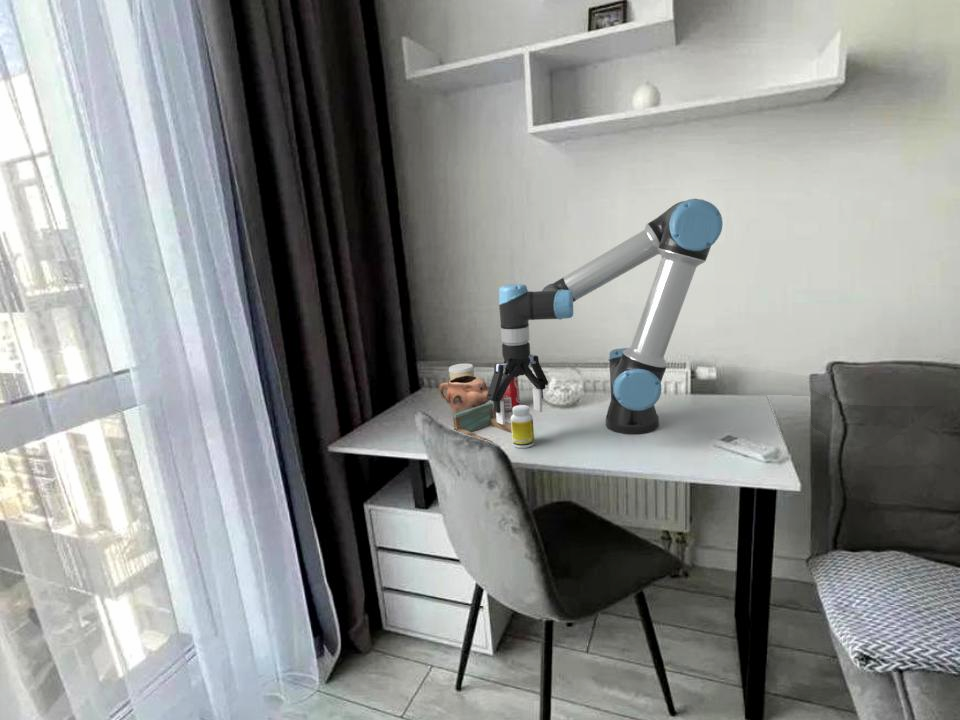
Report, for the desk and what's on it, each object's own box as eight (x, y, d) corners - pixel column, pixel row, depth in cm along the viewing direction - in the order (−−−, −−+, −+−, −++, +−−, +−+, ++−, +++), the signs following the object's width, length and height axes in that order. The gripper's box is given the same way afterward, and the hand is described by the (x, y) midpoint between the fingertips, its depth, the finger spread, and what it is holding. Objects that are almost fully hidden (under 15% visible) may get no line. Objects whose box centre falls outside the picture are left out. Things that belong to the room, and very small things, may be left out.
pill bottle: (538, 446, 154) (535, 408, 151) (517, 450, 152) (514, 412, 150) (529, 439, 160) (527, 402, 157) (509, 443, 158) (506, 406, 156)
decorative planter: (430, 422, 181) (426, 382, 178) (449, 410, 192) (445, 372, 188) (485, 428, 172) (481, 385, 169) (501, 415, 182) (498, 374, 179)
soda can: (520, 410, 185) (518, 373, 182) (499, 412, 185) (496, 375, 182) (519, 404, 192) (517, 367, 189) (499, 405, 192) (496, 369, 189)
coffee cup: (476, 392, 210) (473, 362, 207) (477, 400, 200) (474, 368, 198) (451, 395, 209) (448, 364, 207) (451, 402, 200) (448, 370, 197)
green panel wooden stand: (526, 435, 162) (524, 413, 161) (488, 449, 154) (486, 427, 153) (491, 422, 176) (489, 402, 174) (454, 435, 168) (452, 414, 166)
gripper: (540, 333, 159) (543, 403, 164) (470, 348, 145) (475, 425, 150) (558, 336, 153) (561, 408, 158) (487, 352, 139) (492, 432, 144)
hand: (519, 416), depth 154 cm, fingers open, 13 cm apart
